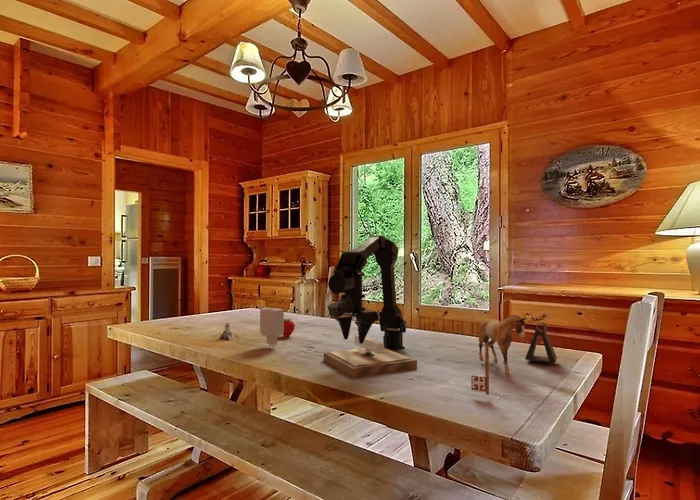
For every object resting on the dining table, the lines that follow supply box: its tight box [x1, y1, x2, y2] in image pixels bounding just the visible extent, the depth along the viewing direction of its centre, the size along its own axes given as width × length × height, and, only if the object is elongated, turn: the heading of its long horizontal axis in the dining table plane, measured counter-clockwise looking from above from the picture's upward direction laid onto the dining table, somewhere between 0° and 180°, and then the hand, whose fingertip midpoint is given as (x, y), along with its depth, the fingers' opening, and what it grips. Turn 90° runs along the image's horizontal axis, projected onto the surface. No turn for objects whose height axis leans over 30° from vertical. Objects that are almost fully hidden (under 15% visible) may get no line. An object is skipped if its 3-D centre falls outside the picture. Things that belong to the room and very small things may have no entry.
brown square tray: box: [323, 347, 418, 379], centre depth 132 cm, size 22×22×3 cm
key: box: [470, 334, 496, 396], centre depth 103 cm, size 6×1×15 cm, turn 63°
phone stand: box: [524, 322, 558, 364], centre depth 138 cm, size 9×6×12 cm, turn 58°
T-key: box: [353, 334, 384, 354], centre depth 132 cm, size 16×2×5 cm, turn 26°
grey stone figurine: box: [219, 322, 236, 341], centre depth 170 cm, size 9×9×8 cm
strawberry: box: [282, 315, 296, 338], centre depth 174 cm, size 6×8×10 cm
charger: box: [259, 307, 285, 349], centre depth 154 cm, size 5×9×15 cm, turn 52°
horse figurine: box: [478, 314, 528, 376], centre depth 129 cm, size 26×6×17 cm, turn 5°
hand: (353, 341), depth 129 cm, fingers open, 8 cm apart
